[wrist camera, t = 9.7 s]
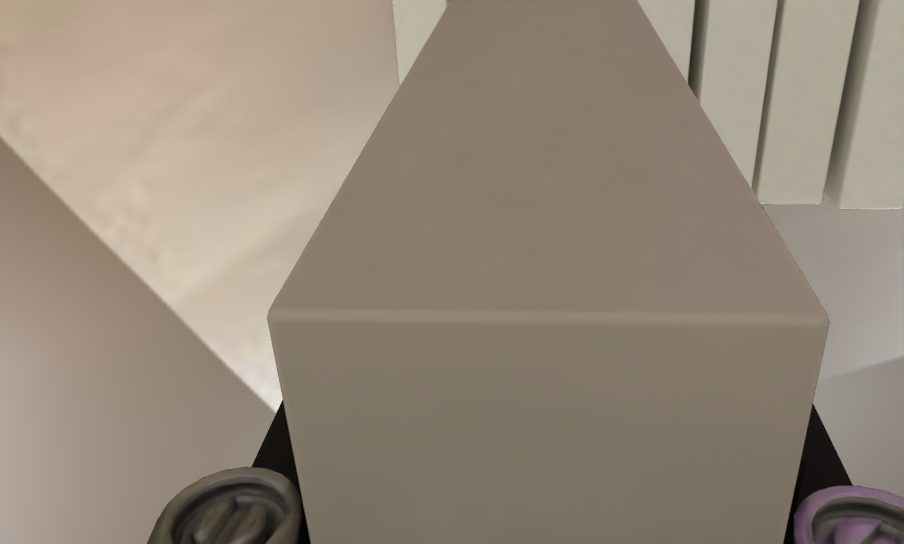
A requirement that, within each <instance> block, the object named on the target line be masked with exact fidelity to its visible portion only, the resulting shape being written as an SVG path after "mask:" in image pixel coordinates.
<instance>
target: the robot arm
mask: <svg viewBox="0 0 904 544" xmlns="http://www.w3.org/2000/svg"><path fill="white" fill-rule="evenodd" d="M147 544H311V541H310V536H309V531H308V526H307V521H306V515H305V510H304V505H303V500H302V495H301V490H300V485H299V479H298V474H297V469H296V464H295V459H294V454H293V448H292V443H291V438H290V433H289V428H288V423H287V418H286V412H285V407H284V402H283V400H282V402H281V405H280V407H279V409H278V411H277V413H276V416H275V418H274V420H273V422H272V424H271V426H270V428H269V430H268V433H267V435H266V437H265V439H264V441H263V443H262V445H261V448H260V450H259V452H258V454H257V456H256V458H255V461H254V463H253V465H252V467H241V468H234V469H227V470H223V471H220V472H217V473H214V474H211V475H208V476H206V477H203V478H201V479H199V480H198V481H196V482H194V483H193V484H191V485H189V486H188V487H186V488H184V489H183V490H182V491H181V492H180V493H179V494H177V495H176V496H175V497H174V498H173V499H172V500H171V501H170V502H169V503H168V504H167V506H166V507H165V509H164V510H163V512H162V513H161V515H160V516H159V518H158V520H157V522H156V524H155V527H154V529H153V531H152V533H151V536H150V538H149V540H148V543H147ZM783 544H904V498H902V497H900V496H897V495H894V494H892V493H889V492H886V491H883V490H878V489H873V488H867V487H863V486H853V485H852V483H851V481H850V479H849V477H848V475H847V473H846V471H845V469H844V466H843V465H842V462H841V460H840V458H839V456H838V454H837V452H836V450H835V448H834V446H833V444H832V442H831V440H830V438H829V436H828V434H827V432H826V429H825V427H824V425H823V423H822V421H821V419H820V417H819V415H818V413H817V411H816V409H815V407H814V405H813V403H812V408H811V413H810V418H809V422H808V427H807V432H806V437H805V441H804V446H803V451H802V456H801V460H800V465H799V470H798V475H797V480H796V484H795V489H794V494H793V499H792V503H791V508H790V513H789V518H788V522H787V527H786V532H785V537H784V541H783Z"/></svg>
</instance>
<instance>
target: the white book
mask: <svg viewBox="0 0 904 544" xmlns="http://www.w3.org/2000/svg"><path fill="white" fill-rule="evenodd" d="M267 320H268V325H269V330H270V335H271V340H272V346H273V351H274V356H275V361H276V366H277V371H278V376H279V382H280V387H281V392H282V397H283V402H284V407H285V412H286V418H287V423H288V428H289V433H290V438H291V443H292V448H293V454H294V459H295V464H296V469H297V474H298V479H299V485H300V490H301V495H302V500H303V505H304V510H305V515H306V521H307V526H308V531H309V536H310V541H311V544H783V541H784V537H785V532H786V527H787V522H788V518H789V513H790V508H791V503H792V499H793V494H794V489H795V484H796V480H797V475H798V470H799V465H800V460H801V456H802V451H803V446H804V441H805V437H806V432H807V427H808V422H809V418H810V413H811V408H812V403H813V399H814V394H815V389H816V384H817V380H818V375H819V370H820V365H821V361H822V356H823V351H824V346H825V342H826V337H827V332H828V327H829V318H828V315H827V313H826V311H825V310H824V308H823V306H822V305H821V303H820V301H819V300H818V298H817V296H816V295H815V293H814V291H813V290H812V288H811V287H810V285H809V283H808V282H807V280H806V278H805V277H804V275H803V273H802V272H801V270H800V268H799V267H798V265H797V263H796V262H795V260H794V258H793V257H792V255H791V253H790V252H789V250H788V249H787V247H786V245H785V244H784V242H783V240H782V239H781V237H780V235H779V234H778V232H777V230H776V229H775V227H774V225H773V224H772V222H771V220H770V219H769V217H768V215H767V214H766V212H765V211H764V209H763V207H762V206H761V204H760V202H759V201H758V199H757V197H756V196H755V194H754V192H753V191H752V189H751V187H750V186H749V184H748V182H747V181H746V179H745V178H744V176H743V174H742V173H741V171H740V169H739V168H738V166H737V164H736V163H735V161H734V159H733V158H732V156H731V154H730V153H729V151H728V149H727V148H726V146H725V144H724V143H723V141H722V140H721V138H720V136H719V135H718V133H717V131H716V130H715V128H714V126H713V125H712V123H711V121H710V120H709V118H708V116H707V115H706V113H705V111H704V110H703V108H702V107H701V105H700V103H699V102H698V100H697V98H696V97H695V95H694V93H693V92H692V90H691V88H690V87H689V85H688V83H687V82H686V80H685V78H684V77H683V75H682V73H681V72H680V70H679V69H678V67H677V65H676V64H675V62H674V60H673V59H672V57H671V55H670V54H669V52H668V50H667V49H666V47H665V45H664V44H663V42H662V40H661V39H660V37H659V35H658V34H657V32H656V31H655V29H654V27H653V26H652V24H651V22H650V21H649V19H648V17H647V16H646V14H645V12H644V11H643V9H642V7H641V6H640V4H639V2H638V1H637V0H450V2H449V4H448V5H447V7H446V9H445V10H444V12H443V14H442V16H441V17H440V19H439V21H438V22H437V24H436V26H435V27H434V29H433V31H432V33H431V34H430V36H429V38H428V39H427V41H426V43H425V45H424V46H423V48H422V50H421V51H420V53H419V55H418V56H417V58H416V60H415V62H414V63H413V65H412V67H411V68H410V70H409V72H408V73H407V75H406V77H405V79H404V80H403V82H402V84H401V85H400V87H399V89H398V91H397V92H396V94H395V96H394V97H393V99H392V101H391V102H390V104H389V106H388V108H387V109H386V111H385V113H384V114H383V116H382V118H381V120H380V121H379V123H378V125H377V126H376V128H375V130H374V131H373V133H372V135H371V137H370V138H369V140H368V142H367V143H366V145H365V147H364V148H363V150H362V152H361V154H360V155H359V157H358V159H357V160H356V162H355V164H354V166H353V167H352V169H351V171H350V172H349V174H348V176H347V177H346V179H345V181H344V183H343V184H342V186H341V188H340V189H339V191H338V193H337V195H336V196H335V198H334V200H333V201H332V203H331V205H330V206H329V208H328V210H327V212H326V213H325V215H324V217H323V218H322V220H321V222H320V223H319V225H318V227H317V229H316V230H315V232H314V234H313V235H312V237H311V239H310V241H309V242H308V244H307V246H306V247H305V249H304V251H303V252H302V254H301V256H300V258H299V259H298V261H297V263H296V264H295V266H294V268H293V270H292V271H291V273H290V275H289V276H288V278H287V280H286V281H285V283H284V285H283V287H282V288H281V290H280V292H279V293H278V295H277V297H276V298H275V300H274V302H273V304H272V305H271V307H270V309H269V311H268V315H267Z"/></svg>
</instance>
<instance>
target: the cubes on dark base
mask: <svg viewBox="0 0 904 544" xmlns="http://www.w3.org/2000/svg"><path fill="white" fill-rule="evenodd" d="M637 1H638V2H639V4H640V6H641V7H642V9H643V11H644V12H645V14H646V16H647V17H648V19H649V21H650V22H651V24H652V26H653V27H654V29H655V31H656V32H657V34H658V35H659V37H660V39H661V40H662V42H663V44H664V45H665V47H666V49H667V50H668V52H669V54H670V55H671V57H672V59H673V60H674V62H675V64H676V65H677V67H678V69H679V70H680V72H681V73H682V75H683V77H684V78H685V80H686V82H687V83H688V85H689V87H690V88H691V90H692V92H693V93H694V95H695V97H696V98H697V100H698V102H699V103H700V105H701V107H702V108H703V110H704V111H705V113H706V115H707V116H708V118H709V120H710V121H711V123H712V125H713V126H714V128H715V130H716V131H717V133H718V135H719V136H720V138H721V140H722V141H723V143H724V144H725V146H726V148H727V149H728V151H729V153H730V154H731V156H732V158H733V159H734V161H735V163H736V164H737V166H738V168H739V169H740V171H741V173H742V174H743V176H744V178H745V179H746V181H747V182H748V184H749V186H750V187H751V189H752V191H753V192H754V194H755V196H756V197H757V199H758V201H759V202H760V204H821V203H822V199H823V194H824V192H825V193H826V195H827V196H828V197H829V198H830V200H831V201H832V202H833V203H834V204H835V206H836V207H837V208H838V209H902V208H903V206H904V0H637ZM449 2H450V0H392V9H393V21H394V33H395V45H396V57H397V68H398V80H399V87H400V85H401V84H402V82H403V80H404V79H405V77H406V75H407V73H408V72H409V70H410V68H411V67H412V65H413V63H414V62H415V60H416V58H417V56H418V55H419V53H420V51H421V50H422V48H423V46H424V45H425V43H426V41H427V39H428V38H429V36H430V34H431V33H432V31H433V29H434V27H435V26H436V24H437V22H438V21H439V19H440V17H441V16H442V14H443V12H444V10H445V9H446V7H447V5H448V4H449Z"/></svg>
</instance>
